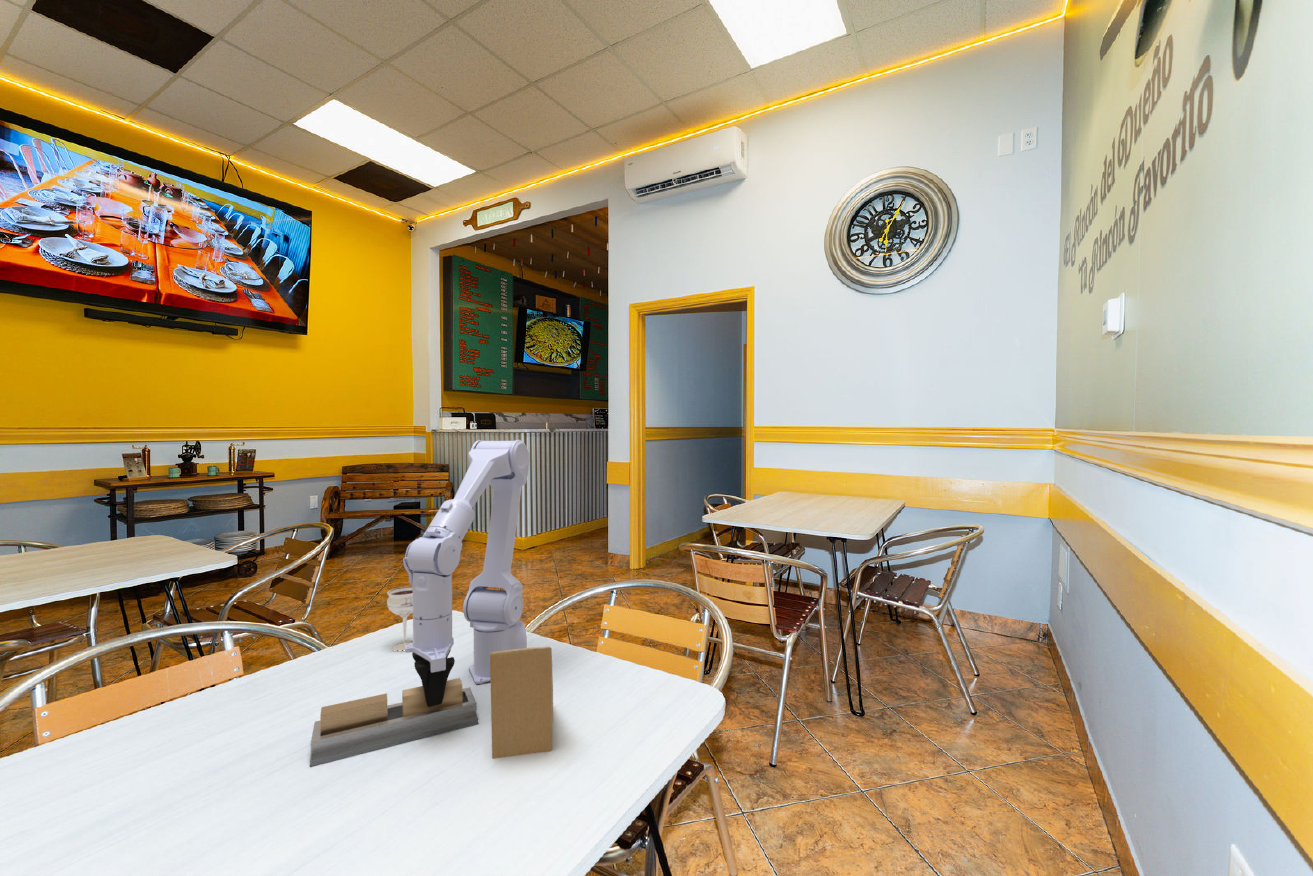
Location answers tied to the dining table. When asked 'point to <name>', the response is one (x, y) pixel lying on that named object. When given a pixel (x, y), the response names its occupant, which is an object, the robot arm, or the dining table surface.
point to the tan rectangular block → (417, 703)
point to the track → (381, 726)
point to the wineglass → (401, 608)
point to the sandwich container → (521, 701)
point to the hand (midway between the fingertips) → (433, 700)
